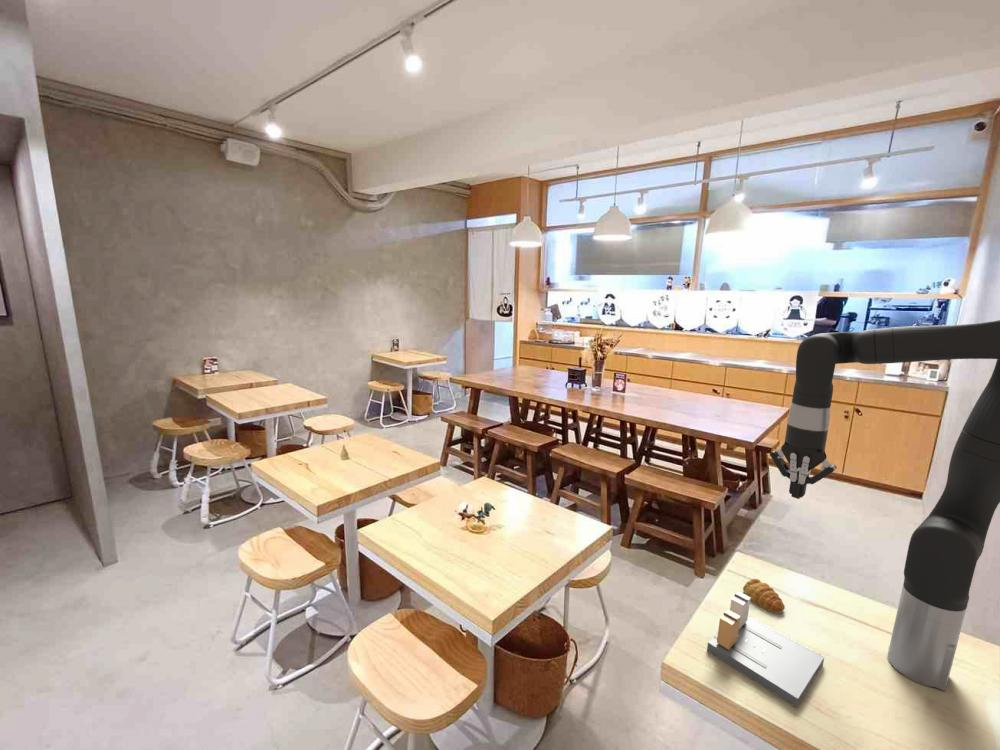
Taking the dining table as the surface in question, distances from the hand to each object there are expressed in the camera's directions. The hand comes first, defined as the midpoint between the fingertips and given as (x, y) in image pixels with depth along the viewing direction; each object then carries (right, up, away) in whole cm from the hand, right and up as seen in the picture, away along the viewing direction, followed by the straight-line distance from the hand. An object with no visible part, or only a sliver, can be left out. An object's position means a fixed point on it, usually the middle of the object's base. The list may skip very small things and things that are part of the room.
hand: (796, 496), depth 102 cm
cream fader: (-14, -28, 0) cm, 31 cm away
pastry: (-1, -29, +11) cm, 31 cm away
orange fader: (-19, -29, -6) cm, 35 cm away
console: (-12, -32, -7) cm, 35 cm away
